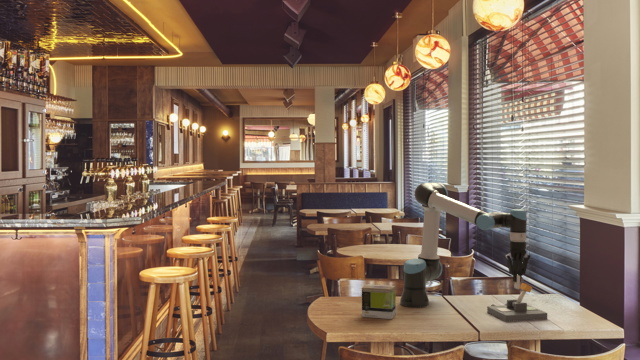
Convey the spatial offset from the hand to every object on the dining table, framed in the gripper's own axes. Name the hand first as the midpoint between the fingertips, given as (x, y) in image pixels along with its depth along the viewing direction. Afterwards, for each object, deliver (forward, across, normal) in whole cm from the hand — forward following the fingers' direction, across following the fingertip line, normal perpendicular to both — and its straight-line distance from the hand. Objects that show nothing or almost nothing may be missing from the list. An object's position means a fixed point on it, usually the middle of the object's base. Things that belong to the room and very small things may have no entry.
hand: (517, 288), depth 289 cm
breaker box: (+14, 0, +4) cm, 14 cm away
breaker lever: (+10, -1, 0) cm, 10 cm away
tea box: (+14, -67, +14) cm, 70 cm away
